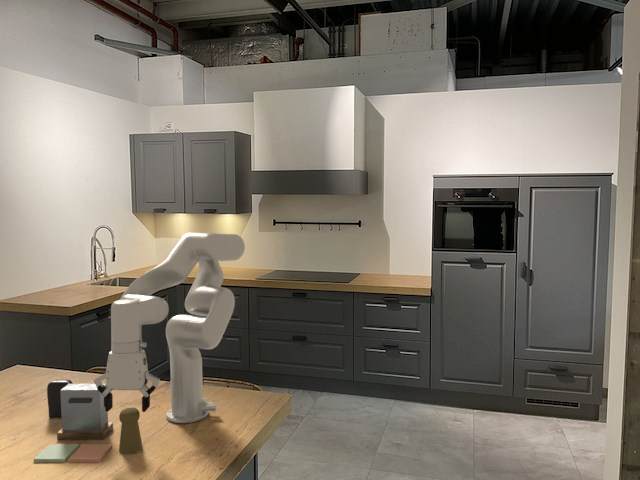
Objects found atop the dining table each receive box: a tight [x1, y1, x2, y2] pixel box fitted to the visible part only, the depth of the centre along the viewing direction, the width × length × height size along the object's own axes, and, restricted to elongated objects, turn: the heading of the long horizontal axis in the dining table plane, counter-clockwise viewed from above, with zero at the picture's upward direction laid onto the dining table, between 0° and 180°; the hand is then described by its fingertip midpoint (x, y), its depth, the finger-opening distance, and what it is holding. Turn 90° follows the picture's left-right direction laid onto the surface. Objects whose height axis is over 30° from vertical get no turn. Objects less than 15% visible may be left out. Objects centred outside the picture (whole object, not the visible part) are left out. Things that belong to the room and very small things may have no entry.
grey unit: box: [56, 383, 114, 441], centre depth 154 cm, size 13×7×14 cm, turn 90°
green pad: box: [33, 444, 80, 463], centre depth 143 cm, size 8×8×1 cm
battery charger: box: [46, 378, 74, 419], centre depth 167 cm, size 7×4×11 cm, turn 92°
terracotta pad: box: [68, 443, 113, 463], centre depth 143 cm, size 8×8×1 cm
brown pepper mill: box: [118, 407, 143, 455], centre depth 146 cm, size 6×6×11 cm
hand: (127, 409), depth 144 cm, fingers open, 9 cm apart
